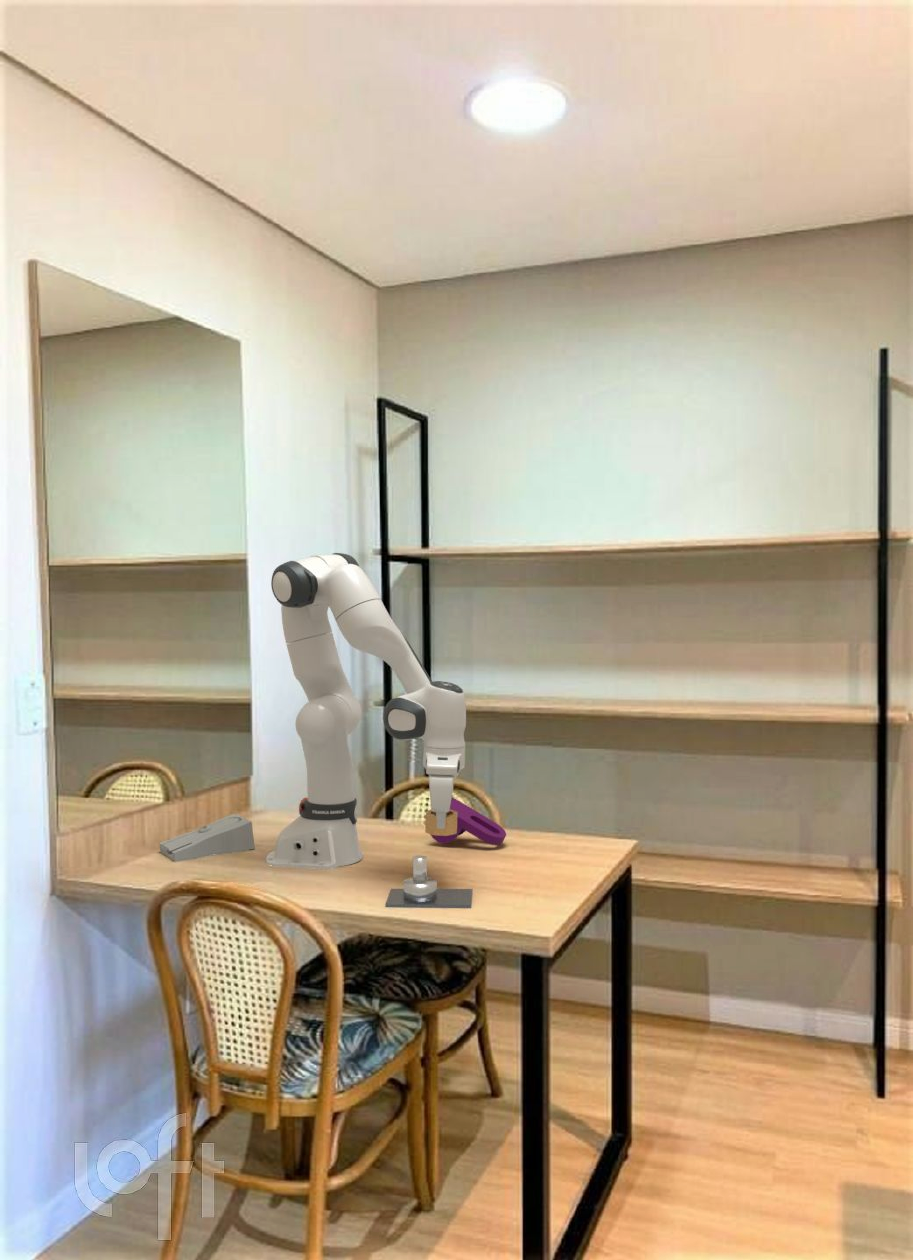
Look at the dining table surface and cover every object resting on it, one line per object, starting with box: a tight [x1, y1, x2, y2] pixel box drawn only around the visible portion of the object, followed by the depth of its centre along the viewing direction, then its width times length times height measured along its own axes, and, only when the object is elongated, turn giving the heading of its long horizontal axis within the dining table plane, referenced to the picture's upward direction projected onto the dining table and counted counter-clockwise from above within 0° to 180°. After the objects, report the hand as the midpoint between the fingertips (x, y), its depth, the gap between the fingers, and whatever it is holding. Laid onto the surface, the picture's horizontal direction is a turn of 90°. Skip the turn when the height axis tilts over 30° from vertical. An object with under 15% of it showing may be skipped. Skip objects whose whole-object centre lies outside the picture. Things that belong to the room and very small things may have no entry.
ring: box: [424, 809, 458, 836], centre depth 207 cm, size 7×7×4 cm
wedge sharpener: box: [159, 813, 256, 863], centre depth 239 cm, size 11×20×7 cm, turn 125°
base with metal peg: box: [384, 855, 474, 909], centre depth 198 cm, size 17×10×9 cm, turn 87°
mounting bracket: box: [429, 796, 507, 846], centre depth 244 cm, size 9×8×18 cm
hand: (442, 823), depth 207 cm, fingers closed on ring, 6 cm apart
